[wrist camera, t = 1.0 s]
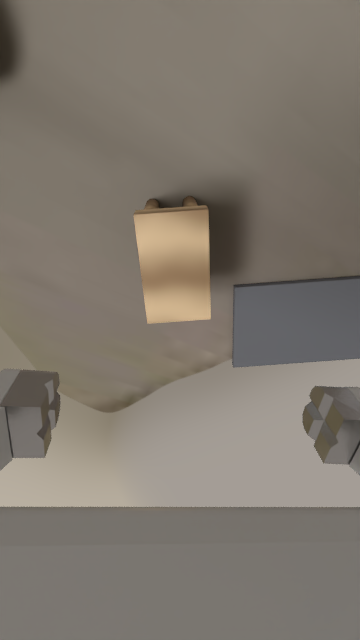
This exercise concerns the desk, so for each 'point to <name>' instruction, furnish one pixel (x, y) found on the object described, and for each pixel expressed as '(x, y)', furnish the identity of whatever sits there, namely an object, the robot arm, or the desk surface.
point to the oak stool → (174, 261)
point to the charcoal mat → (296, 321)
